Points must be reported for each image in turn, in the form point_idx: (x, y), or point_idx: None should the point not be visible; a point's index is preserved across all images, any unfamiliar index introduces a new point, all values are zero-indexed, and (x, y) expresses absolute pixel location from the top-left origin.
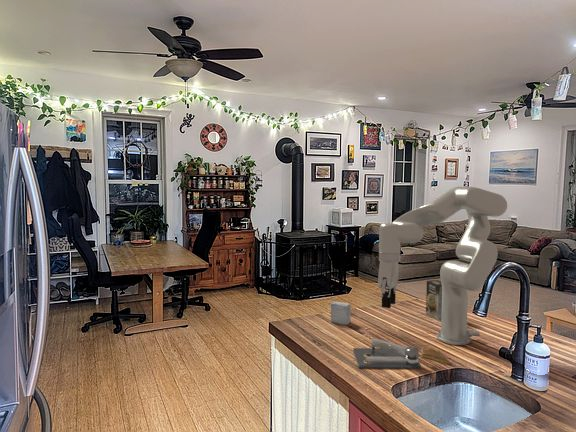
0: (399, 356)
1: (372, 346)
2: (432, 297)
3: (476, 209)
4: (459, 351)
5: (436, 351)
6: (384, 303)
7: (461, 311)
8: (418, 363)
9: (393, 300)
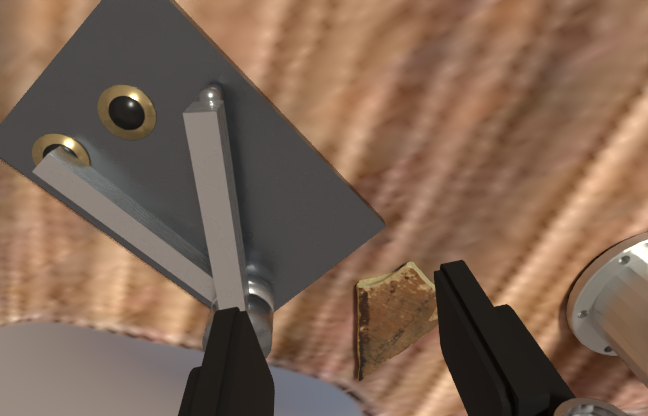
0: (257, 236)
1: (199, 101)
2: None
3: None
4: None
5: (425, 319)
6: (191, 400)
7: None
8: None
9: (455, 381)
